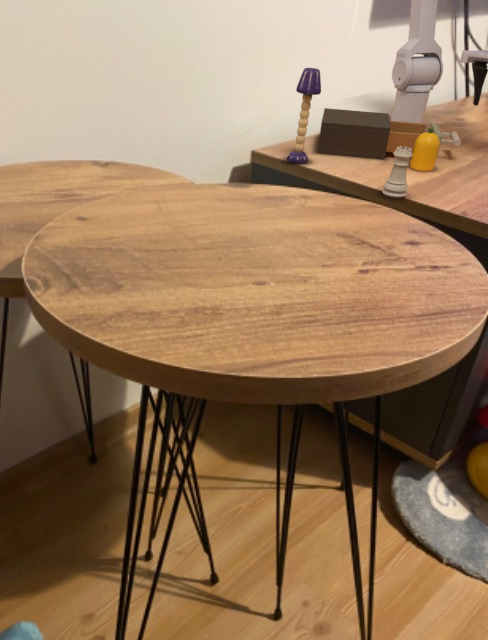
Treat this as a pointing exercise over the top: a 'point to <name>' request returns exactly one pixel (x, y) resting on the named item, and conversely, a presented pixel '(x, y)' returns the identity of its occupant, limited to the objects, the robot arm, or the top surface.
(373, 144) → the cabinet
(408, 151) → the rook chess piece
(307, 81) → the toy lamp
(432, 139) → the pepper
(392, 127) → the drawer
